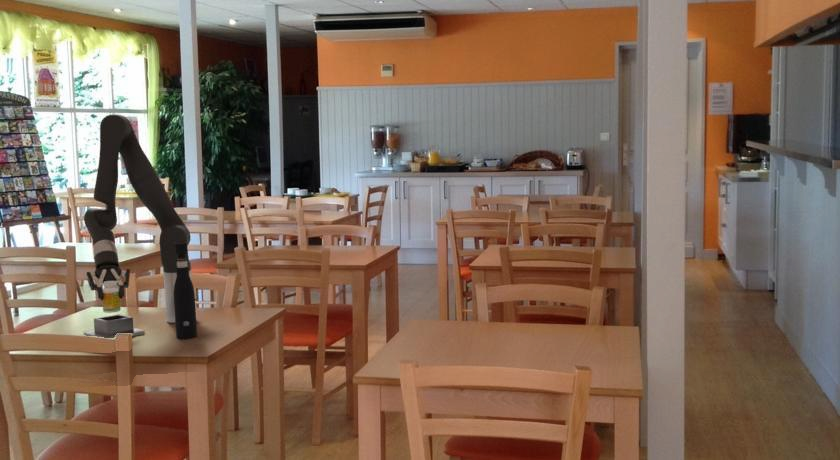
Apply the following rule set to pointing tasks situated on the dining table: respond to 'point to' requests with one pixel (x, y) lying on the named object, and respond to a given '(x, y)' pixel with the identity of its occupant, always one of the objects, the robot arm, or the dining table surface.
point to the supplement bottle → (111, 297)
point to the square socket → (113, 326)
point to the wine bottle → (184, 297)
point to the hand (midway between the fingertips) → (111, 297)
